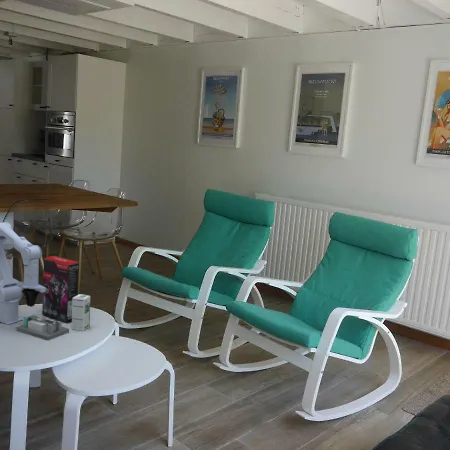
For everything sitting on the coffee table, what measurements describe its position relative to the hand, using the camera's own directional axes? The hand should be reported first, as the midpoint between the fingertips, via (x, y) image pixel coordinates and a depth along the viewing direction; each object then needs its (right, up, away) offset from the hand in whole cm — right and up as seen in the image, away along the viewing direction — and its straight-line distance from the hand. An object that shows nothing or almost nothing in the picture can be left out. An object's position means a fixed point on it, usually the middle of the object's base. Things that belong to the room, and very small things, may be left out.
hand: (30, 305), depth 222 cm
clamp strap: (+5, -8, -1) cm, 9 cm away
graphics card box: (+6, -9, +18) cm, 21 cm away
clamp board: (+5, -11, 0) cm, 12 cm away
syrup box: (+19, -11, +7) cm, 23 cm away
